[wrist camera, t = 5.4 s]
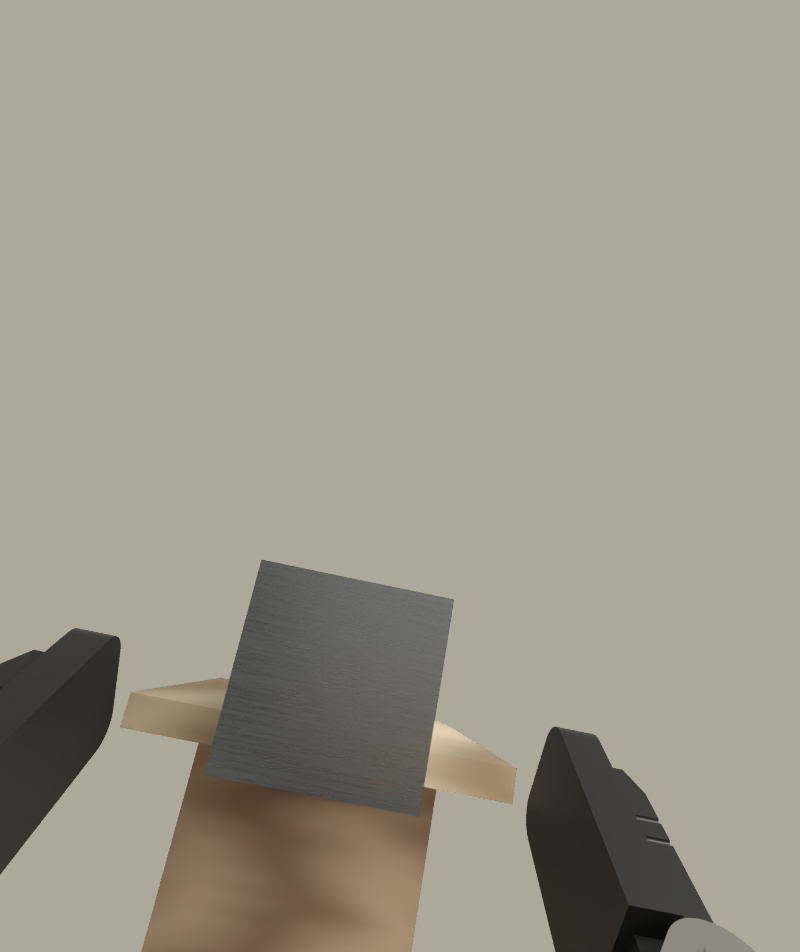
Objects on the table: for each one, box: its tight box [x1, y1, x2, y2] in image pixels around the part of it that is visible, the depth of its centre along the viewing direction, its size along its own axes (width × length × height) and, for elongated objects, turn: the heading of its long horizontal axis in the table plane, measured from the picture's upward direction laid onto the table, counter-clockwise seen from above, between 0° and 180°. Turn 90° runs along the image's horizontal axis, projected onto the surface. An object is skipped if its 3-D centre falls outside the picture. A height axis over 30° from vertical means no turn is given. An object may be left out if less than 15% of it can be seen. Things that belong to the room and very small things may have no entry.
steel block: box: [204, 560, 454, 817], centre depth 21 cm, size 4×24×4 cm, turn 5°
